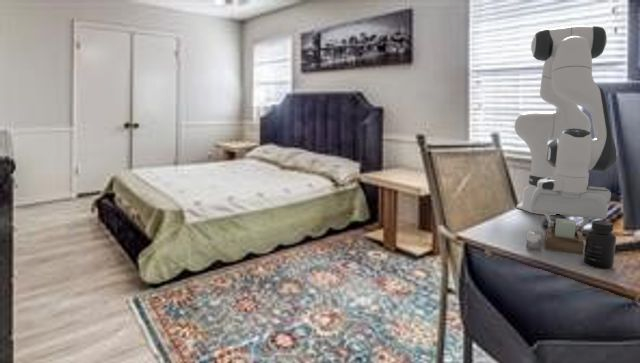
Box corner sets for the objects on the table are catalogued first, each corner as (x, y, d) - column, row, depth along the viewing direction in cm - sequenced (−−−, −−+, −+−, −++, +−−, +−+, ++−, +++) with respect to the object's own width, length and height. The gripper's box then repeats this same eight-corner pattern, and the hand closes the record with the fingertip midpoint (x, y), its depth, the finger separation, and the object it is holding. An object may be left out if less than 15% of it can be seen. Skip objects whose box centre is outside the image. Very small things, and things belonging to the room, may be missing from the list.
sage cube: (554, 233, 136) (556, 218, 135) (573, 235, 134) (575, 220, 133) (554, 238, 132) (556, 222, 131) (573, 240, 130) (575, 224, 129)
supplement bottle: (590, 258, 124) (596, 217, 122) (617, 266, 119) (623, 223, 116) (578, 263, 121) (583, 221, 118) (604, 271, 115) (611, 228, 113)
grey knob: (526, 245, 135) (528, 229, 134) (540, 247, 133) (542, 231, 132) (525, 249, 131) (527, 233, 130) (540, 251, 129) (542, 235, 128)
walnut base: (544, 239, 140) (546, 227, 139) (580, 244, 136) (582, 231, 135) (544, 248, 132) (546, 236, 131) (583, 254, 127) (584, 241, 126)
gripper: (610, 185, 128) (604, 230, 131) (533, 179, 137) (528, 221, 140) (613, 190, 122) (606, 237, 125) (532, 183, 132) (528, 227, 134)
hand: (565, 228), depth 133 cm, fingers open, 6 cm apart
